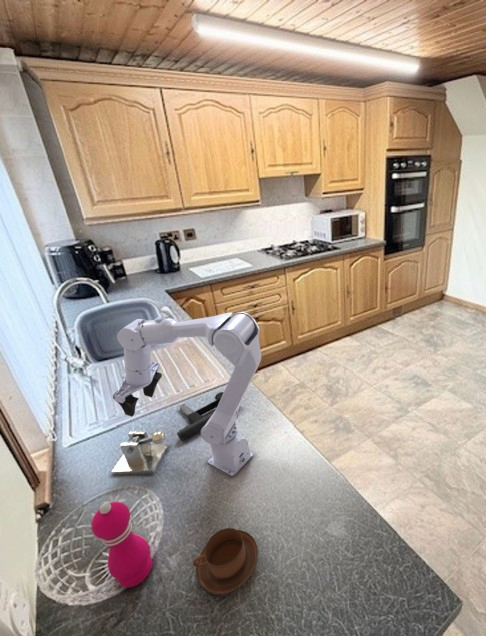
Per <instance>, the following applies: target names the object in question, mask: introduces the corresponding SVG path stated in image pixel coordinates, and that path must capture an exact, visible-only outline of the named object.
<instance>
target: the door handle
mask: <svg viewBox="0 0 486 636" xmlns="http://www.w3.org/2000/svg"><path fill="white" fill-rule="evenodd" d="M223 393H224V391H221V392H220V391H219V392H218V393H217V394H216V395H215V396H214V401H212V402H210V403H208V404H206V405H204V406H203V407H200V408H199V409H197V410H195V411H192V410H191V409H190V408H189V407H188V406H187V405H186V404H185V403H183V404H181V405H179V410H180V411H181V413H183V414H184V415H185V416H186V417H187V421H188V423H189V425H187V426H184V427H183V428H182V429H180V430H178V432H177V431H176V435H177V437H178V438H179V440H180V441H182V440H186V439H188V438H190V437H191V436H193V435H195V434H197V433H198V432H201V429H202V428H203V427H204V426H205V425H206V423H207V422H208V420H209V419H210V417H211V416H212V415H213V413H214V412H215V409H216V408H217V406H218V404H219V402H220V400H221V397H222V395H223ZM213 410H214V411H213ZM210 411H212V412H211V413H209V412H210ZM207 413H209V414H207ZM205 414H207V415H205ZM203 415H205V416H204V417H203Z"/></svg>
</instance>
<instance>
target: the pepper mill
mask: <svg viewBox="0 0 486 636" xmlns="http://www.w3.org/2000/svg"><path fill="white" fill-rule="evenodd" d="M132 529H133V523H132V521H131V512H130V508H129V507H128V506H127V505H126V503H124V502H120V501H112V502H104V503H102V504H101V505H100V506H99V508H98V510H97V511H96V512H95V514H94V515H93V517H92V520H91V531H92V533H93V535H94V536H95V537H96V538H97V539H100V540H101V542H102V544H103V545H104V546H106V547H108V548H109V551H108V557H107V568H108V571H109V572H108V573H109V574H110V576H111V577H112V578H114V579H116V580H117V582H118V584H119V585H120V586H121V587H123V588H126V589H127V588H133V587H136V586H138V585H139V584H140V583H142V582H143V581H145V580H146V578H147V577H148V575H150V572H151V570H152V568H153V559H152V556H151V547H150V544H149V543H148V541H147V540H146V539H145V538H144V537H143V536H141V535H139V534H135V533H133V532H132Z"/></svg>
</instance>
